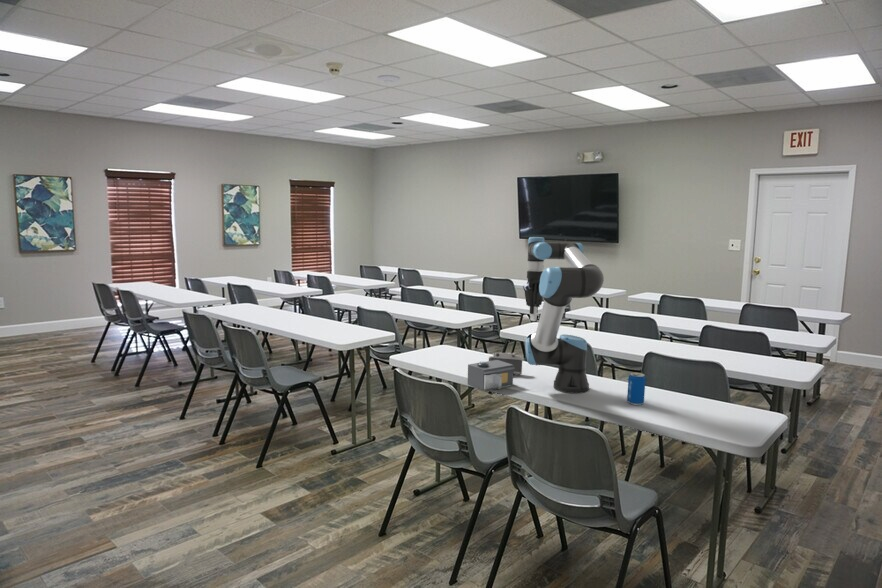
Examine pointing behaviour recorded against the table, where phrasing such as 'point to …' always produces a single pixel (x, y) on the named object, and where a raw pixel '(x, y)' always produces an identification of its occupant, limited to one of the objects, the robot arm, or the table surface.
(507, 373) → the sliding door box
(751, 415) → the table surface
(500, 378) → the side door
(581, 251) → the robot arm
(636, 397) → the beverage can
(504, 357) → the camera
